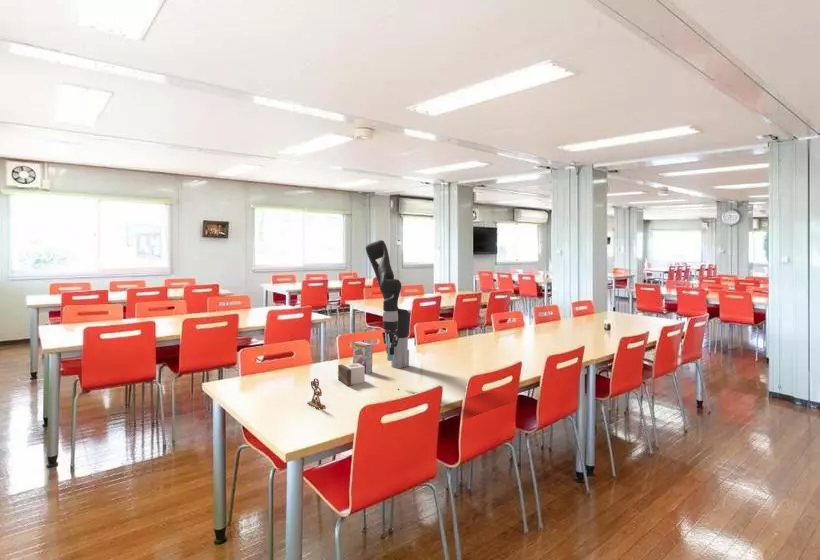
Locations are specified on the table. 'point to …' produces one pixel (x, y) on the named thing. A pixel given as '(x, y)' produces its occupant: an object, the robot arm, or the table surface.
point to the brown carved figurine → (314, 401)
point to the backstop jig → (344, 375)
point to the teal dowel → (389, 357)
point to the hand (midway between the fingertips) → (390, 353)
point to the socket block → (356, 373)
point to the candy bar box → (363, 355)
